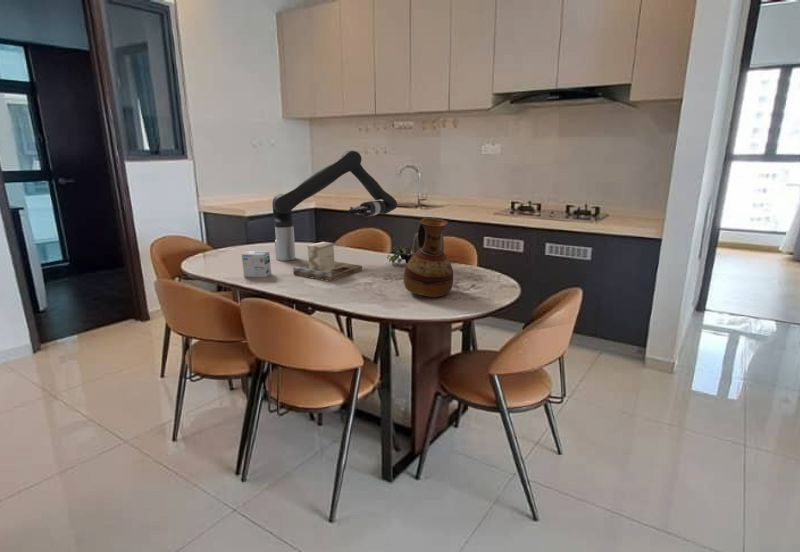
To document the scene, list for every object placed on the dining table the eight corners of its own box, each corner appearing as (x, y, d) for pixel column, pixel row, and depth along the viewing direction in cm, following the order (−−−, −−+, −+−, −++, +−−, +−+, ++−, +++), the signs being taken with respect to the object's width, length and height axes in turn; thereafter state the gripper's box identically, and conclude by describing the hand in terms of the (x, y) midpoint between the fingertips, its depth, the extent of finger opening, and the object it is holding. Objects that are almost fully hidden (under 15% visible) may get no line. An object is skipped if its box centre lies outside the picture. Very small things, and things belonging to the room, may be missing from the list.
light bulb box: (271, 273, 215) (269, 250, 212) (266, 277, 209) (264, 254, 206) (249, 273, 216) (247, 250, 213) (243, 277, 210) (241, 253, 207)
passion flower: (406, 274, 234) (420, 256, 229) (395, 275, 225) (409, 256, 220) (392, 259, 238) (405, 241, 233) (380, 259, 229) (394, 240, 224)
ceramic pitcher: (416, 303, 173) (417, 223, 165) (395, 289, 191) (395, 216, 183) (462, 297, 181) (464, 220, 173) (437, 283, 199) (439, 213, 191)
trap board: (293, 274, 214) (293, 267, 213) (326, 263, 232) (326, 257, 231) (330, 281, 202) (330, 273, 201) (362, 269, 221) (361, 262, 220)
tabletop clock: (443, 268, 224) (444, 216, 217) (442, 273, 215) (444, 219, 208) (413, 267, 225) (413, 215, 219) (411, 272, 217) (411, 218, 210)
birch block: (309, 271, 211) (307, 245, 208) (323, 266, 219) (322, 241, 216) (320, 273, 208) (318, 247, 204) (334, 268, 216) (333, 243, 212)
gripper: (359, 200, 244) (338, 203, 230) (380, 202, 238) (360, 205, 223) (360, 214, 246) (339, 218, 232) (380, 216, 239) (360, 221, 225)
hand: (349, 212), depth 228 cm, fingers closed
